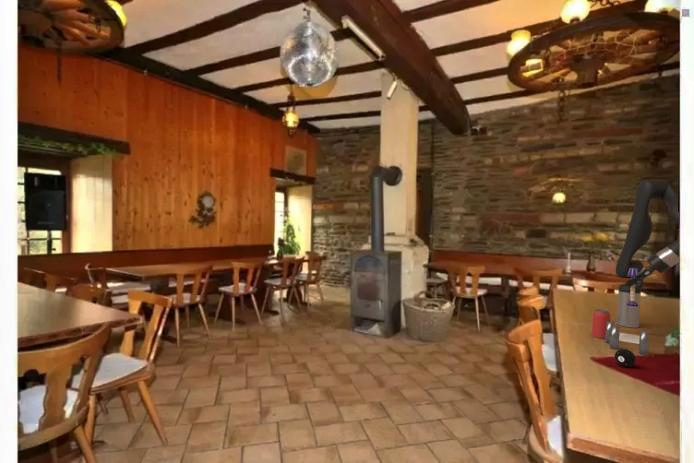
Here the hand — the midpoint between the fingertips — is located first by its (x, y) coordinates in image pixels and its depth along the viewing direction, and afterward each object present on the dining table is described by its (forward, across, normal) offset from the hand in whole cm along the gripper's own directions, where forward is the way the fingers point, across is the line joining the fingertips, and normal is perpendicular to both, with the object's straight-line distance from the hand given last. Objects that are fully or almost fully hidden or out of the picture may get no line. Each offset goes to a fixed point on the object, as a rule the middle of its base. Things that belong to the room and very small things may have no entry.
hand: (627, 284), depth 174 cm
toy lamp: (+5, 0, +8) cm, 9 cm away
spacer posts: (+17, +18, +17) cm, 31 cm away
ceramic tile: (+16, 0, +18) cm, 24 cm away
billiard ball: (+17, +44, +18) cm, 50 cm away
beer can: (+24, +6, +11) cm, 27 cm away
